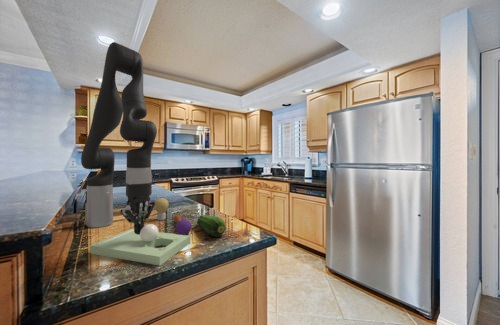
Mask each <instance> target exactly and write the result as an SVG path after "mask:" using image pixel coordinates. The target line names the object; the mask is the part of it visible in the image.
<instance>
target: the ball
mask: <svg viewBox="0 0 500 325" xmlns="http://www.w3.org/2000/svg"><path fill="white" fill-rule="evenodd" d="M159 232H160V231H159V227H157V225H155V224H153V223H148V224H144V227H143V228H142V229H141V231H140V237H141V239H142V240H143V241H146V242H151V241H153V240H155V239H156V238H157V236H158V233H159Z"/></svg>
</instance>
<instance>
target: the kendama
mask: <svg viewBox="0 0 500 325" xmlns="http://www.w3.org/2000/svg"><path fill="white" fill-rule="evenodd" d="M173 221H174V222H175V231H176V233H177V234H178V235H186V236H187V235H188V234H189V233H190V232H192V228H193V226H192V222H191V221H190V220H189V219H186V218H183V219H182V216H181V215H180V214H177V215H175V216H174V217H173Z"/></svg>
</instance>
